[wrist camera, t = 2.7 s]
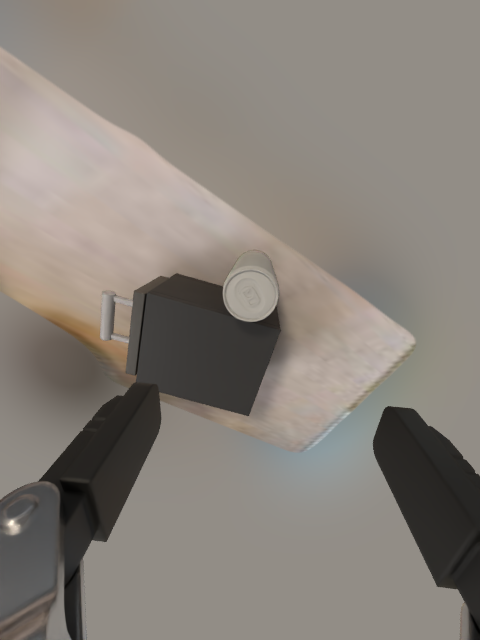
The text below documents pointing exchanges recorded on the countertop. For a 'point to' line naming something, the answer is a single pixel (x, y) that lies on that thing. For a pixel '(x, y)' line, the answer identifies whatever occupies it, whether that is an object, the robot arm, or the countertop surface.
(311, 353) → the countertop surface
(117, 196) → the countertop surface
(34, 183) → the countertop surface
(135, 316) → the handled box lid
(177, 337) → the dark grey lidded box
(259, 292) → the beverage can
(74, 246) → the countertop surface
